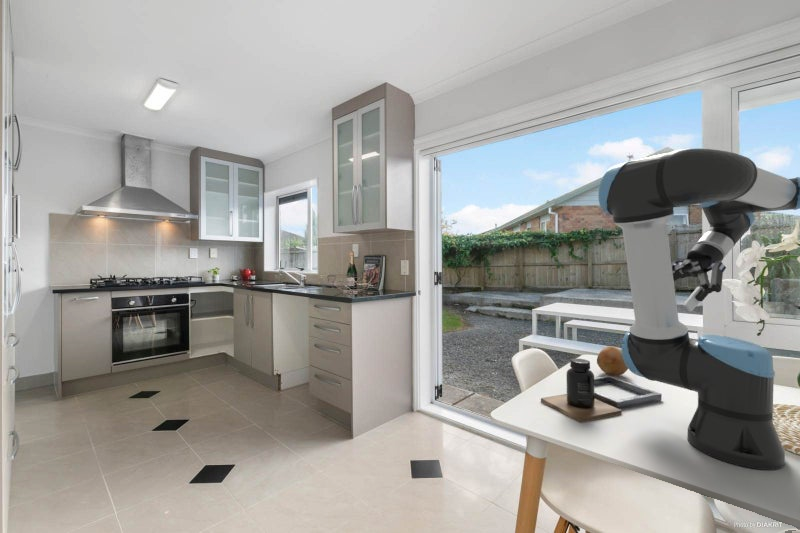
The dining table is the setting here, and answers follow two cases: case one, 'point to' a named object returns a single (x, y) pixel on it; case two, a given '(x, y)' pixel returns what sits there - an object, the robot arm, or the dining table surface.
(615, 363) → the onion
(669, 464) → the dining table surface
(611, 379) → the metal rim
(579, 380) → the supplement bottle
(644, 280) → the robot arm
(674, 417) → the dining table surface
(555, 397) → the walnut board
